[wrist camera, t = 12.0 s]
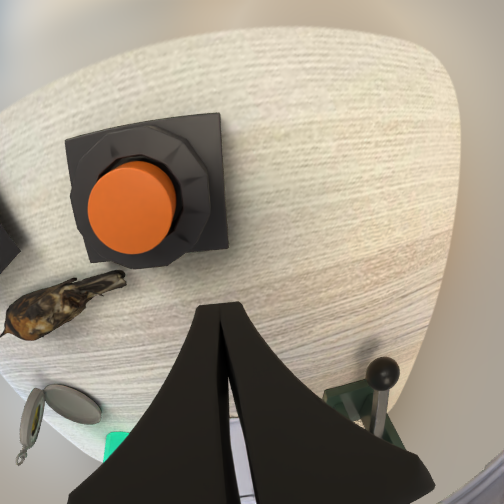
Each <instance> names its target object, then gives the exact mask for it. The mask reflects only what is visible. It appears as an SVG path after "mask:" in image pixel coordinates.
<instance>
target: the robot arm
mask: <svg viewBox="0 0 504 504" xmlns="http://www.w3.org/2000/svg"><path fill="white" fill-rule="evenodd" d="M228 377H229V382H230V386H231V390H232V394H233V398H234V402H235V406H236V409H237V413H238V417H239V418H229V388H228ZM434 488H435V483H434V481H433V479H432V477H431V475H430V473H429V471H428V470H427V468H426V467H425V465H424V464H423V462H422V461H421V460H420V458H419V457H418V455H416V454H414V453H411V452H409V451H407V450H404V449H402V448H400V447H397V446H395V445H393V444H391V443H389V442H387V441H385V440H383V439H381V438H379V437H377V436H376V435H374V434H372V433H370V432H369V431H367V430H365V429H364V428H362V427H360V426H358V425H357V424H355V423H354V422H352V421H351V420H349V419H348V418H347V417H345V416H344V415H342V414H341V413H339V412H338V411H336V410H335V409H334V408H332V407H331V406H329V405H328V404H327V403H326V402H324V401H323V400H322V399H321V398H319V397H318V396H317V395H316V394H315V393H313V392H312V391H311V390H310V389H309V388H308V387H307V386H306V385H304V384H303V383H302V382H301V381H300V380H299V379H298V378H297V377H296V376H295V375H294V374H293V373H292V372H291V371H290V370H289V369H288V368H287V367H286V366H285V365H284V363H283V362H282V361H281V360H280V359H279V358H278V357H277V356H276V354H275V353H274V352H273V351H272V350H271V348H270V347H269V346H268V344H267V343H266V342H265V340H264V339H263V338H262V337H261V335H260V334H259V332H258V331H257V330H256V328H255V327H254V325H253V323H252V322H251V320H250V319H249V317H248V315H247V313H246V312H245V310H244V307H243V305H242V304H241V303H240V302H239V301H237V302H228V303H219V304H209V305H199V306H198V307H197V308H196V311H195V315H194V318H193V321H192V324H191V327H190V330H189V332H188V335H187V337H186V339H185V342H184V344H183V346H182V348H181V351H180V353H179V355H178V357H177V359H176V361H175V363H174V365H173V367H172V369H171V371H170V373H169V374H168V376H167V378H166V380H165V382H164V384H163V385H162V387H161V389H160V390H159V392H158V394H157V395H156V397H155V398H154V400H153V401H152V403H151V405H150V406H149V408H148V409H147V410H146V412H145V413H144V415H143V416H142V417H141V419H140V420H139V421H138V423H137V424H136V426H135V427H134V428H133V429H132V431H131V432H130V433H129V435H128V436H127V437H126V438H125V439H124V441H123V442H122V443H121V444H120V445H119V446H118V447H117V448H116V450H115V451H114V452H113V453H112V454H111V455H110V456H109V457H108V458H107V460H106V461H105V462H104V463H103V464H102V465H101V466H100V467H99V468H98V469H97V470H96V471H95V472H94V473H92V474H91V475H90V476H89V477H88V478H87V479H86V480H85V481H83V482H82V483H81V484H80V485H79V486H78V487H77V488H76V489H74V490H73V491H72V492H71V493H70V494H69V498H68V502H67V504H410V503H412V502H414V501H416V500H417V499H419V498H421V497H423V496H424V495H426V494H428V493H429V492H431V491H432V490H433V489H434ZM437 504H504V450H503V451H501V452H500V453H499V454H498V455H497V456H496V457H495V458H494V459H493V460H491V461H490V462H489V463H488V464H487V465H486V466H485V469H484V470H482V471H481V472H480V473H479V474H478V475H476V476H475V477H474V478H472V479H471V480H470V481H469V482H467V483H466V484H465V485H463V486H462V487H461V488H459V489H458V490H456V491H455V492H453V493H452V494H451V495H449V496H448V497H446V498H445V499H443V500H442V501H440V502H438V503H437Z"/></svg>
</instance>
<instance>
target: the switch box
mask: <svg viewBox="0 0 504 504" xmlns="http://www.w3.org/2000/svg"><path fill="white" fill-rule="evenodd" d="M65 148H66V155H67V162H68V169H69V175H70V181H71V186H72V189H71V193H70V199H71V204H72V208H73V213H74V217H75V221H76V225H77V229H78V230H79V232H80V233H81V234H82V236H83V239H84V242H85V246H86V250H87V253H88V256H89V260H90V263H97V262H106V261H112V262H115V263H117V264H120V265H122V266H125V267H127V268H130V269H132V268H133V269H142V268H152V267H162V266H168V265H169V264H170V263H172V262H173V261H175V260H176V259H178V258H179V257H181V256H182V255H183V254H185V253H190V252H200V251H209V250H219V249H228V248H229V240H228V227H227V214H226V201H225V186H224V171H223V155H222V139H221V121H220V113H207V114H196V115H187V116H178V117H171V118H164V119H157V120H151V121H145V122H139V123H133V124H128V125H123V126H118V127H114V128H109V129H105V130H100V131H96V132H92V133H88V134H84V135H80V136H77V137H73V138H70V139H66V140H65ZM133 161H143V162H148V163H151V164H153V165H155V166H157V167H159V168H160V169H161V170H163V171H164V172H165V173H166V174H167V176H168V177H169V178H170V180H171V181H172V183H173V186H174V188H175V192H176V200H177V202H176V210H175V213H174V217H173V220H172V223H171V226H170V229H169V231H168V233H167V235H166V236H165V238H164V239H163V240H162V242H161V243H160V244H158V245H157V246H156V247H154V248H153V249H151V250H149V251H147V252H144V253H139V254H125V253H120V252H117V251H115V250H113V249H111V248H109V247H108V246H106V245H105V244H104V243H103V242H102V241H101V240H100V239H99V238H98V237H97V236H96V234H95V233H94V231H93V229H92V227H91V224H90V221H89V217H88V201H89V197H90V194H91V191H92V189H93V187H94V186H95V184H96V183H97V182H98V180H99V179H100V178H101V177H103V176H104V175H105V174H107V173H108V172H110V171H112V170H114V169H115V168H117V167H119V166H120V165H122V164H125V163H128V162H133Z"/></svg>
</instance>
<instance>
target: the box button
mask: <svg viewBox="0 0 504 504" xmlns="http://www.w3.org/2000/svg"><path fill="white" fill-rule="evenodd" d="M176 202H177V200H176V192H175V188H174V186H173V183H172V181H171V180H170V178H169V177H168V176H167V174H166V173H165V172H164V171H163V170H161V169H160V168H159V167H157V166H155V165H153V164H151V163H148V162H143V161H133V162H128V163H125V164H122V165H120V166H119V167H117V168H115V169H114V170H112V171H110V172H108V173H107V174H105V175H104V176H103V177H101V178H100V179H99V180H98V182H97V183H96V184H95V186H94V187H93V189H92V191H91V194H90V197H89V201H88V217H89V221H90V224H91V227H92V229H93V231H94V233H95V234H96V236H97V237H98V238H99V239H100V240H101V241H102V242H103V243H104V244H105V245H106V246H108V247H109V248H111V249H113V250H115V251H117V252H120V253H125V254H139V253H144V252H147V251H149V250H151V249H153V248H154V247H156V246H157V245H158V244H160V243H161V242H162V240H163V239H164V238H165V236H166V235H167V233H168V231H169V229H170V226H171V223H172V220H173V217H174V213H175V210H176Z"/></svg>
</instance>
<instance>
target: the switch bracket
mask: <svg viewBox="0 0 504 504" xmlns="http://www.w3.org/2000/svg"><path fill="white" fill-rule="evenodd" d="M373 391H374V389H372V388H371V387H370V386H369V385H368V383H367V381H366V379H364V380H361V381H358V382H354V383H351V384H347V385H344V386H340V387H336V388H332V389H328V390H325V391H324V395H323V399H322V400H323V401H324V402H326V403H327V404H328V405H329V406H331V407H332V408H334V409H335V410H336V411H338V412H339V413H341V414H342V415H344V416H345V417H347V418H348V419H349V420H351V421H352V422H353V421H356V420H359V419H361V421H362V423H363V425H364V427H365V429H366V430H367V431H369V427H370V420H371V411H372V402H373ZM382 439H383V440H385V441H387V442H389V443H391V444H393V445H395V446H397V447H400V448H402V449H404V450H406V449H405V447H404V445H403V443H402V441H401V439H400V437H399V435H398V433H397V431H396V430H395V428H394V426H393V424H392V422H391V420H390V418H389V416H388V414H387V413H386V418H385V425H384V431H383V436H382Z"/></svg>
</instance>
